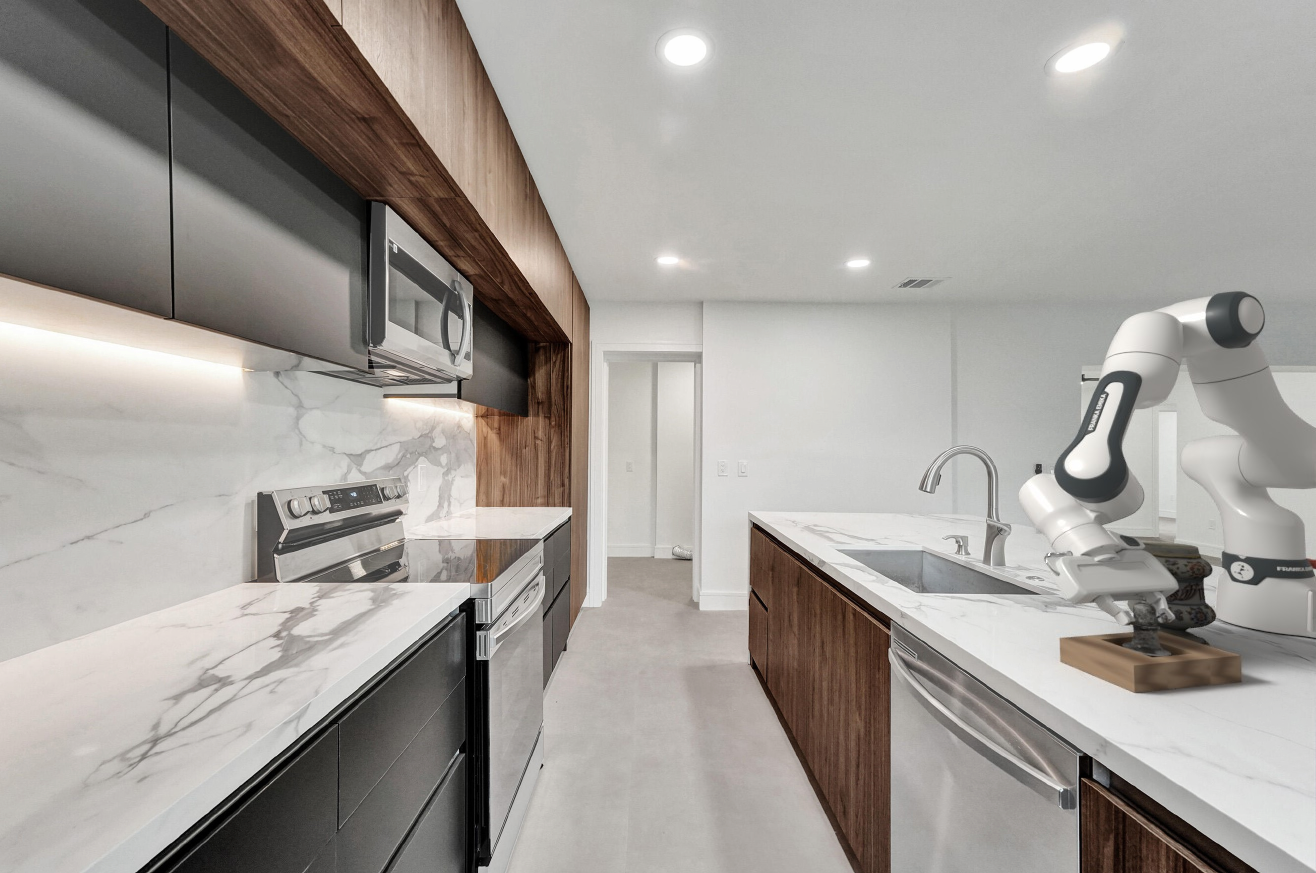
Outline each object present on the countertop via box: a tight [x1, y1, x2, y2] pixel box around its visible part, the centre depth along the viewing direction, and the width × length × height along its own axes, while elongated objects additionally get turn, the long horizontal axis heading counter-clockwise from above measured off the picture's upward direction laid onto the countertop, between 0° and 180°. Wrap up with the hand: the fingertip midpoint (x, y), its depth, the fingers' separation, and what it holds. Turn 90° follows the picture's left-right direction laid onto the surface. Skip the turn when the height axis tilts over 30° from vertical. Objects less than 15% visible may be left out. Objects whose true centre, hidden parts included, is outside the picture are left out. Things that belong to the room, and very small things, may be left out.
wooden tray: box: [1059, 631, 1243, 694], centre depth 86 cm, size 20×12×4 cm, turn 100°
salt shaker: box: [1122, 597, 1171, 657], centre depth 86 cm, size 6×6×12 cm
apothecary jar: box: [1127, 541, 1217, 646], centre depth 101 cm, size 12×12×18 cm
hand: (1149, 622), depth 86 cm, fingers open, 6 cm apart
